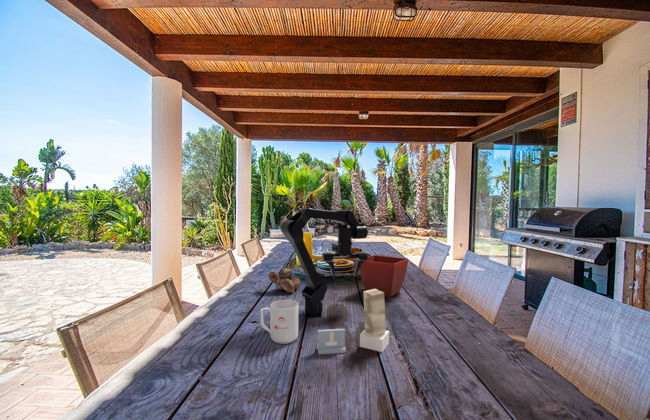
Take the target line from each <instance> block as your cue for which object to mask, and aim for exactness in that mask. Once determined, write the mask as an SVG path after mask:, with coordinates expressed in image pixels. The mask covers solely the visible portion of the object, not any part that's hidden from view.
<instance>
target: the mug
mask: <svg viewBox="0 0 650 420" xmlns="http://www.w3.org/2000/svg"><path fill="white" fill-rule="evenodd" d="M299 307H300V306H299V301H296V300H292V299H278V300H275V301H272V302H271V303H270V307H262V308H260V325H261V327H262V328H263V329H264V330H265V331H267V332H268V333H269V335H270V339H271V340H272V341H273V342H275V343H276V344H281V345H282V344H283V345H284V344H285V345H286V344H291V343H294V341H296V339H297V338H298V336H299ZM264 311H268V312H270V318H269V319H270V322H269V323H270V325H269V326H270V327H268V326H267V325H265V323H264Z"/></svg>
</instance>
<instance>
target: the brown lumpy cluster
mask: <svg viewBox="0 0 650 420" xmlns="http://www.w3.org/2000/svg"><path fill="white" fill-rule="evenodd" d="M267 278H268V280H269V281H270V282H272V284H275V288H276V289H277V290H285V291H286V292H287V293H294V292H295V290H296V289H299V288H300V285H301V284H302V280H301V279H300V278H297V277H293V271H292V269H290V268H284V269H282V270H280V271H279V272H277V271H275V270H273V271H270V272H269V273H268V274H267Z"/></svg>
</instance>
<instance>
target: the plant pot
mask: <svg viewBox="0 0 650 420" xmlns="http://www.w3.org/2000/svg"><path fill="white" fill-rule="evenodd" d="M364 261H365V262H363V263H362V265H361V266H360V268H359V270H358V272H359V275H360V278H361V282H362V285H363V288H364V291H368V290H372V289H377V290H379V291H382V292H384V298H391V297H393V296H395V295H397V294H400V292H401V290H402V288H403V287H402V286H403V284H404V281H405V278H406V274H407V268H408V265H409V264H408V263H409V258H405V257H395V256H385V255H376V254H375V255H374V254H373V255H371V256H370V255H369V256H368V260H364Z"/></svg>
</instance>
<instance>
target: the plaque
mask: <svg viewBox="0 0 650 420" xmlns="http://www.w3.org/2000/svg"><path fill="white" fill-rule="evenodd" d="M316 350H317V353H318V355H330V354H331V355H332V354H344V353H347V349H346V329H345V328H333V329H332V328H331V329H317V344H316Z"/></svg>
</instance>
